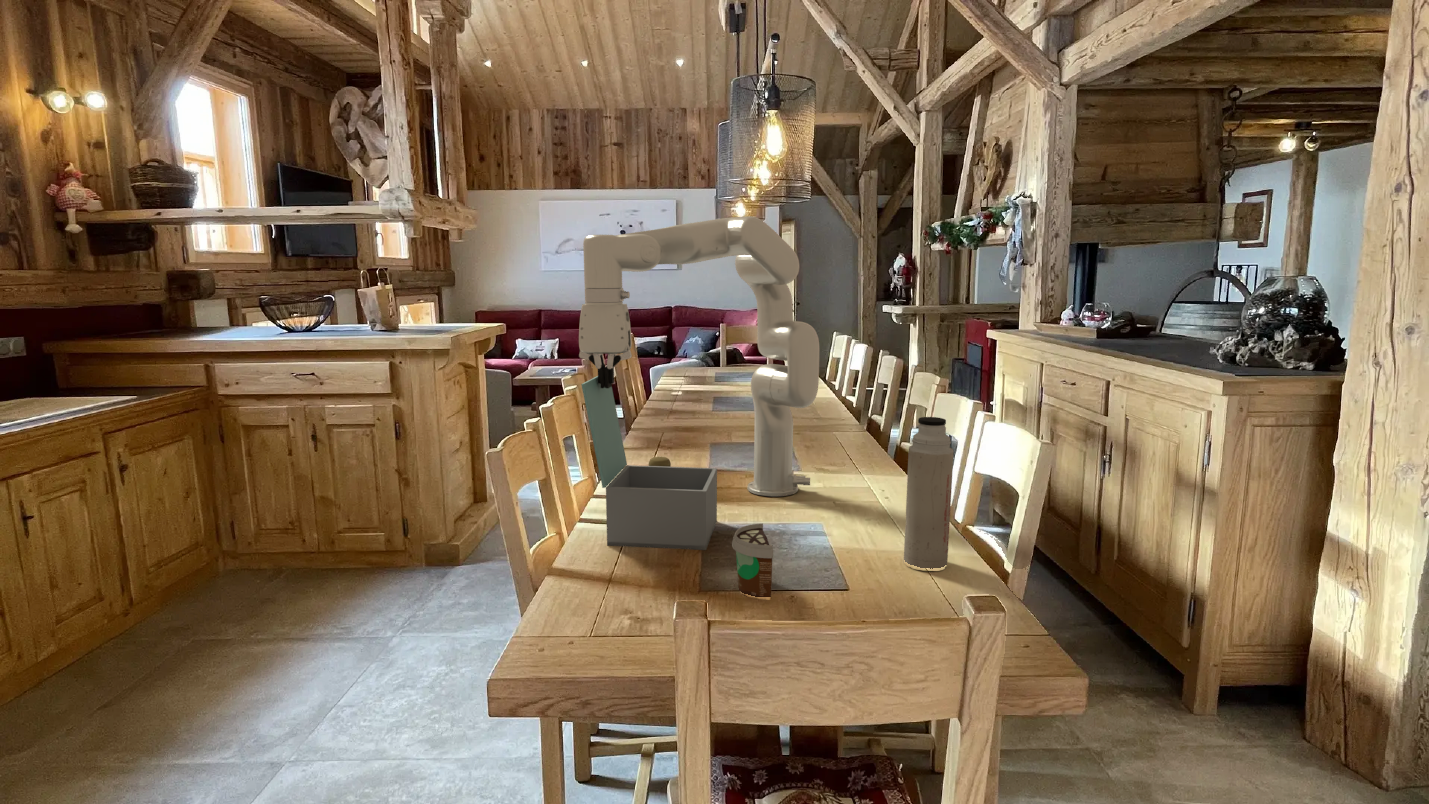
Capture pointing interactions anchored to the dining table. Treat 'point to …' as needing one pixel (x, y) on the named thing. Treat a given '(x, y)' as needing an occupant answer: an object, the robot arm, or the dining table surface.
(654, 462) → the cork
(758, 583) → the food container
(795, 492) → the robot arm
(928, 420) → the thermos bottle
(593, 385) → the lid
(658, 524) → the carton
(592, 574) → the dining table surface
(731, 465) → the dining table surface
